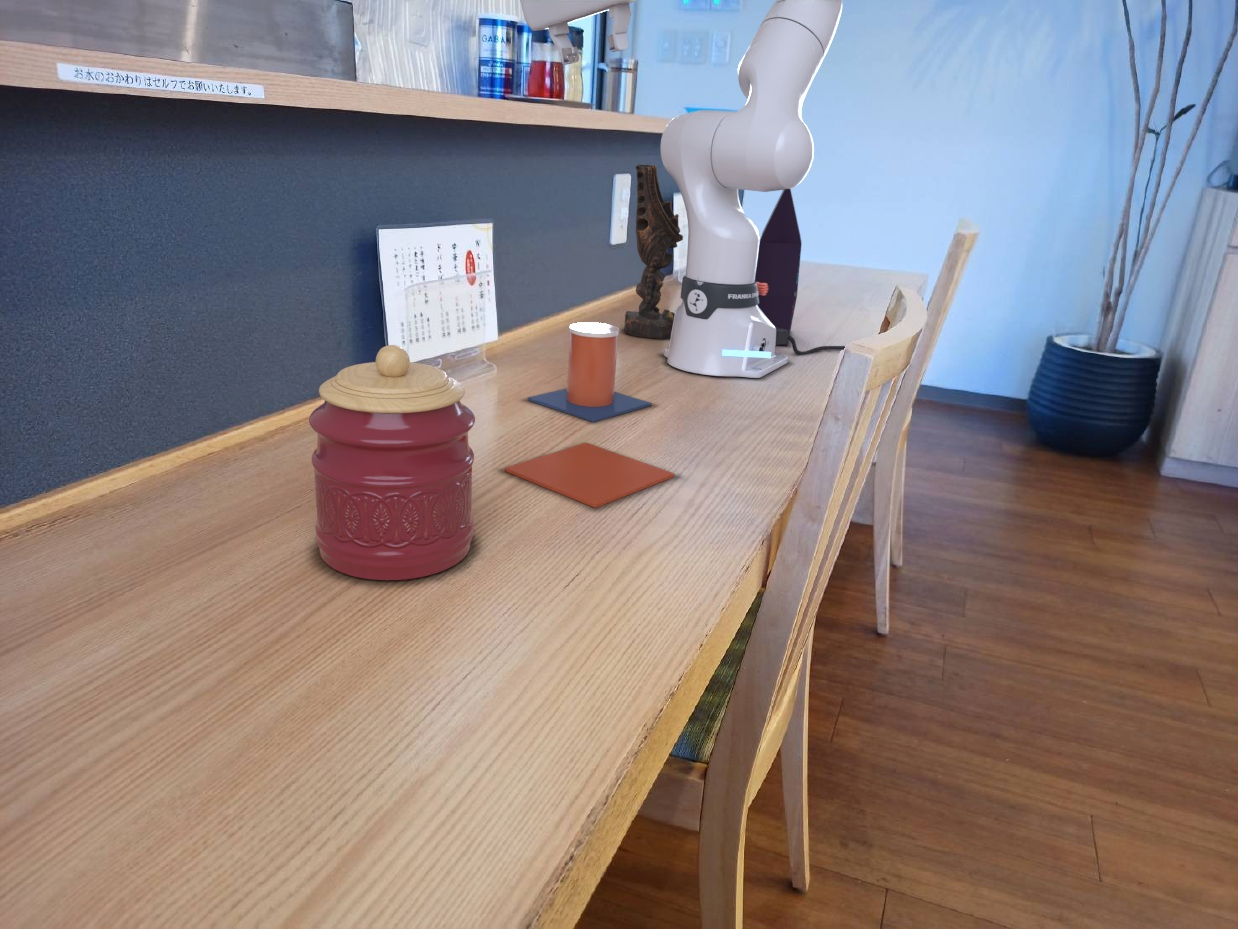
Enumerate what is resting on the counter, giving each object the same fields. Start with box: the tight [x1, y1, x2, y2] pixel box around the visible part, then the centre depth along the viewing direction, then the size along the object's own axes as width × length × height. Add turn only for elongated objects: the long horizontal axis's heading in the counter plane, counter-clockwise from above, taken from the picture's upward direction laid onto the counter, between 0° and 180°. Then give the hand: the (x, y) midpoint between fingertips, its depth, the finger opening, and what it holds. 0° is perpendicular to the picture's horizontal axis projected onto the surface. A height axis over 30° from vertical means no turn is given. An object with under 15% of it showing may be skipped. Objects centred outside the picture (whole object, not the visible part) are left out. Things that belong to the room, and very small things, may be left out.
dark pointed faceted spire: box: [755, 188, 803, 347], centre depth 166 cm, size 8×16×28 cm, turn 170°
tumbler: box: [566, 322, 620, 407], centre depth 118 cm, size 7×7×10 cm
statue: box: [623, 164, 684, 340], centre depth 161 cm, size 10×10×30 cm
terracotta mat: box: [504, 442, 675, 509], centre depth 95 cm, size 13×13×1 cm
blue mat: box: [527, 388, 652, 423], centre depth 120 cm, size 12×12×1 cm
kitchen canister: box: [308, 344, 476, 581], centre depth 72 cm, size 13×13×18 cm
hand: (594, 57), depth 107 cm, fingers open, 8 cm apart
